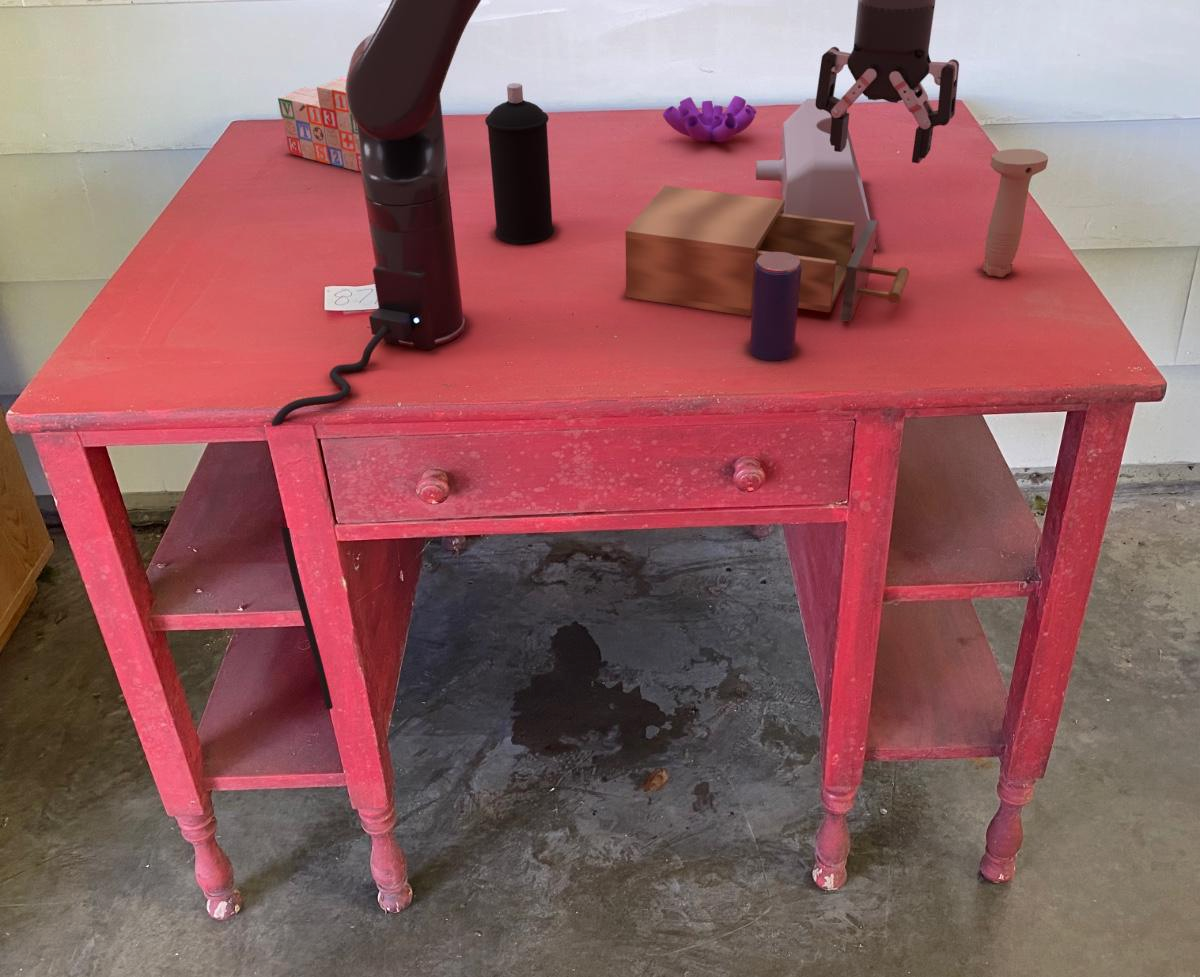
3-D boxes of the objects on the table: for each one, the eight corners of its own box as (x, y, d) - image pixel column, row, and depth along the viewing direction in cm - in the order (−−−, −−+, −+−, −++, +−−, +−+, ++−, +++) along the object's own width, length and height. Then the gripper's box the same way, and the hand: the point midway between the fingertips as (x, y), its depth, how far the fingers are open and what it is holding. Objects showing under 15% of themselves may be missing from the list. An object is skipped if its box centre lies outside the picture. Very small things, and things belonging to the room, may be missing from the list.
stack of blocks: (288, 155, 181) (272, 77, 174) (315, 143, 185) (301, 66, 178) (387, 179, 172) (376, 98, 164) (414, 166, 176) (404, 86, 168)
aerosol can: (546, 246, 150) (537, 96, 139) (487, 243, 152) (474, 94, 140) (560, 222, 157) (553, 76, 145) (504, 218, 158) (492, 74, 146)
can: (788, 364, 124) (796, 273, 118) (744, 357, 126) (750, 267, 119) (798, 343, 128) (806, 254, 121) (755, 336, 130) (761, 248, 123)
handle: (1029, 278, 140) (1055, 161, 131) (981, 283, 139) (1004, 166, 130) (1010, 261, 143) (1035, 147, 134) (963, 267, 142) (985, 151, 133)
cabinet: (780, 264, 144) (785, 199, 139) (750, 316, 133) (754, 248, 128) (663, 248, 149) (664, 185, 144) (626, 297, 138) (625, 230, 133)
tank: (753, 179, 168) (758, 95, 160) (862, 181, 166) (872, 96, 159) (753, 251, 148) (759, 158, 140) (877, 253, 146) (889, 160, 139)
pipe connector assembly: (754, 163, 182) (761, 128, 173) (662, 164, 182) (664, 130, 173) (752, 103, 185) (758, 66, 176) (661, 104, 186) (663, 67, 176)
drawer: (911, 277, 138) (919, 225, 134) (893, 328, 128) (901, 273, 124) (757, 256, 144) (760, 206, 140) (728, 303, 134) (731, 250, 130)
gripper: (815, -1, 111) (803, 157, 121) (960, 11, 106) (935, 176, 116) (839, -19, 117) (826, 135, 126) (978, -8, 111) (953, 152, 121)
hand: (878, 155), depth 121 cm, fingers open, 8 cm apart
